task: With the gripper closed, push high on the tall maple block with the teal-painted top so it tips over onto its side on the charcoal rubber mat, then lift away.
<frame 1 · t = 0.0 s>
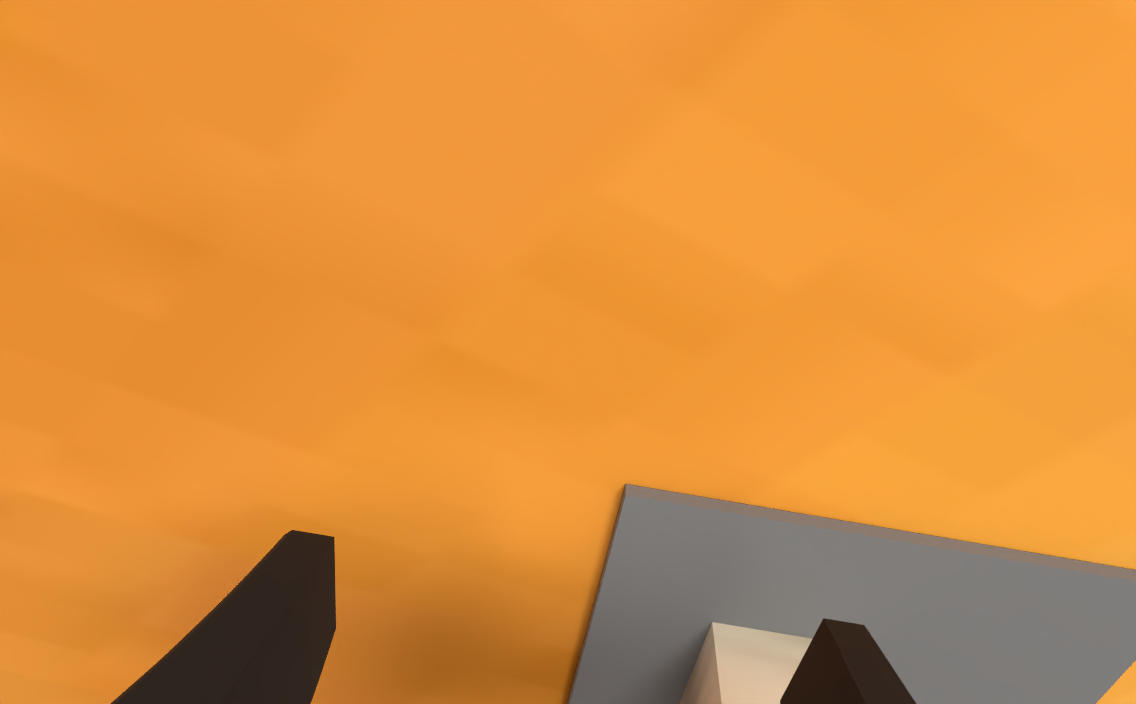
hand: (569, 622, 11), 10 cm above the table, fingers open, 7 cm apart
rubber mat: (827, 676, 27), on the table
maple block: (748, 675, 26), resting on rubber mat
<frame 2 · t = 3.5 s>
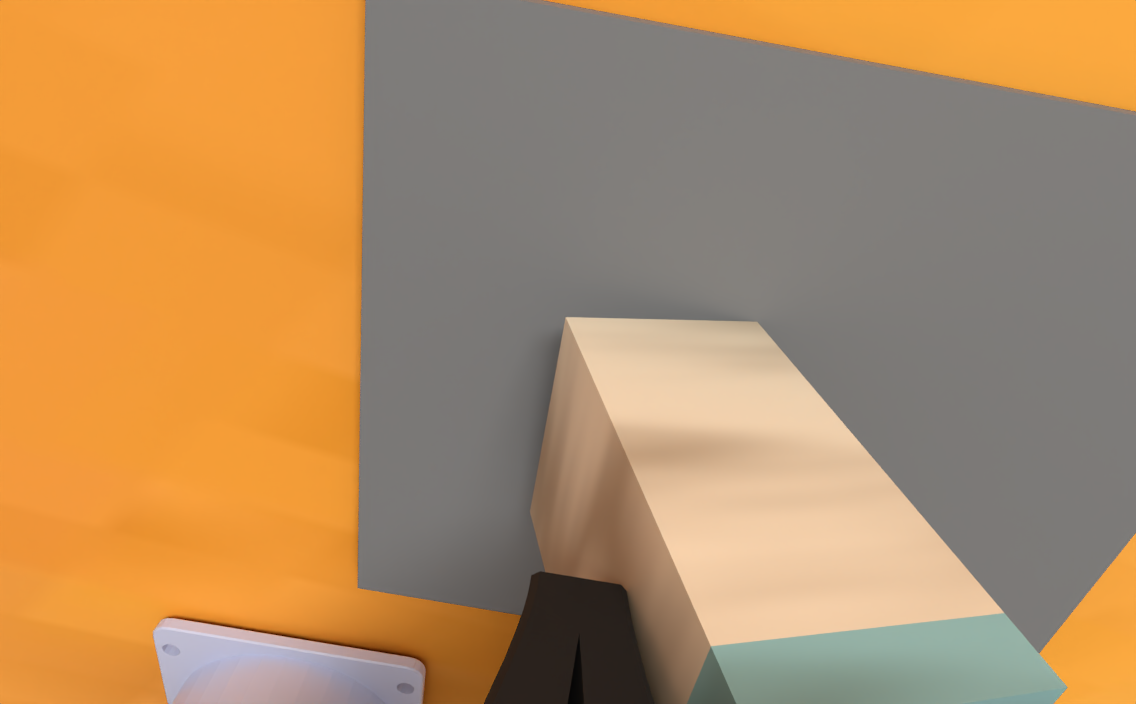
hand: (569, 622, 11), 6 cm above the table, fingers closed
rubber mat: (764, 414, 16), on the table
maple block: (638, 421, 15), point 1 cm above the table, tilted 17°, touching gripper, rubber mat
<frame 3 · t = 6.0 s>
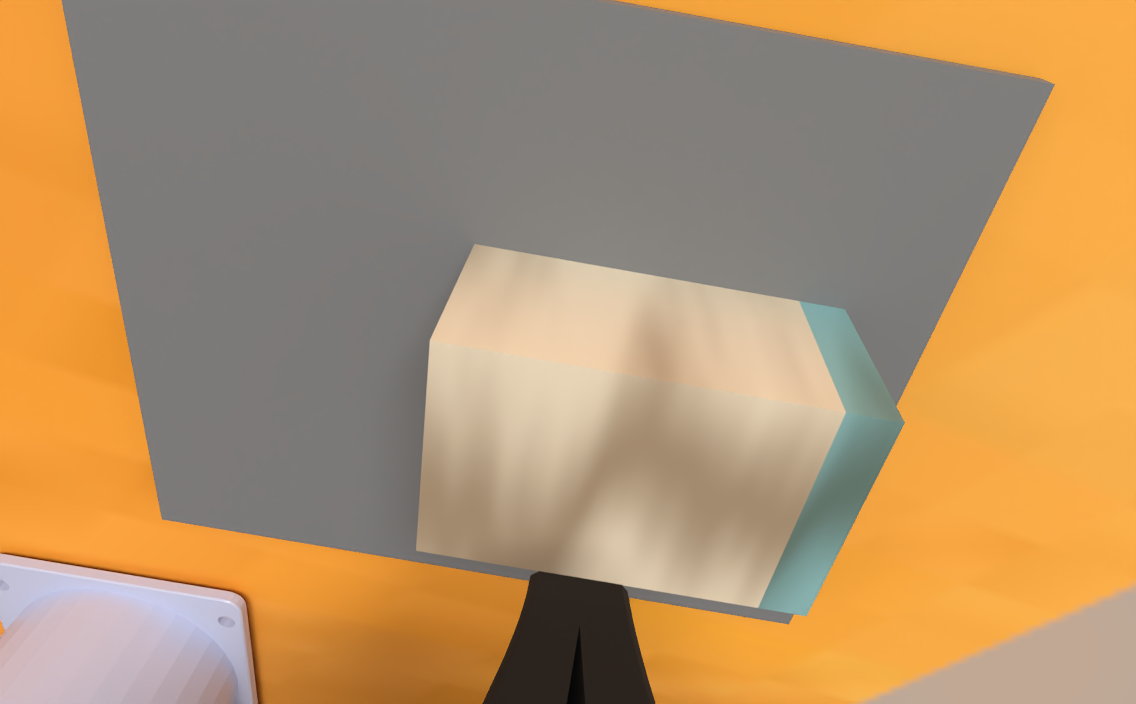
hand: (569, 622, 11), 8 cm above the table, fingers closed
rubber mat: (510, 339, 17), on the table
maple block: (445, 393, 15), point 2 cm above the table, tilted 90°, touching rubber mat
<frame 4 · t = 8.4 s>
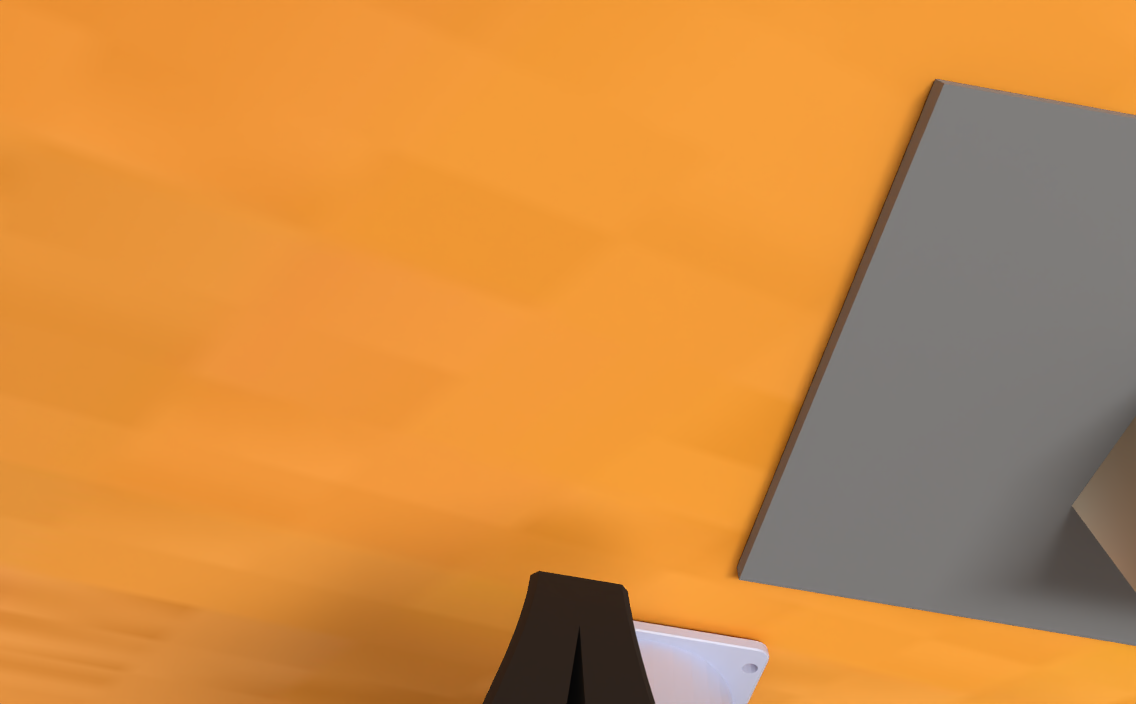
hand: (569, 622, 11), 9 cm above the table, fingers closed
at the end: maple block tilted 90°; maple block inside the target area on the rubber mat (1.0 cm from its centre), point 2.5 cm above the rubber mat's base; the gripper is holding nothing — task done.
